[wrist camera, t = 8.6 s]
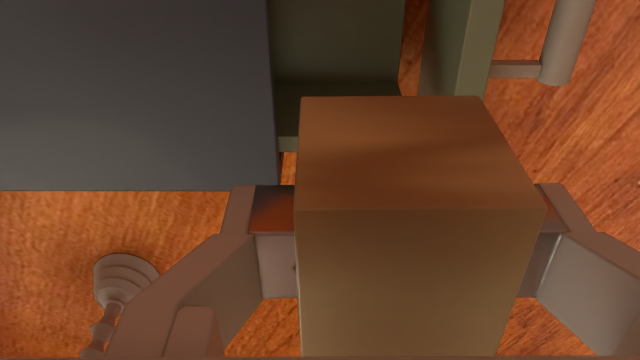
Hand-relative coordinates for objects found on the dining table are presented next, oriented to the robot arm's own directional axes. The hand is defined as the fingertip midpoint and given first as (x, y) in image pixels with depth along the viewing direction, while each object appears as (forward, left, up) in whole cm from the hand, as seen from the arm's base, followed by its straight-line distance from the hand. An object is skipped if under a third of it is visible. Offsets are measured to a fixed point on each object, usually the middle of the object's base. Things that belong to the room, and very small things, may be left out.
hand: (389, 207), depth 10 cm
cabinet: (+8, -6, -17) cm, 19 cm away
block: (0, 0, -2) cm, 2 cm away
